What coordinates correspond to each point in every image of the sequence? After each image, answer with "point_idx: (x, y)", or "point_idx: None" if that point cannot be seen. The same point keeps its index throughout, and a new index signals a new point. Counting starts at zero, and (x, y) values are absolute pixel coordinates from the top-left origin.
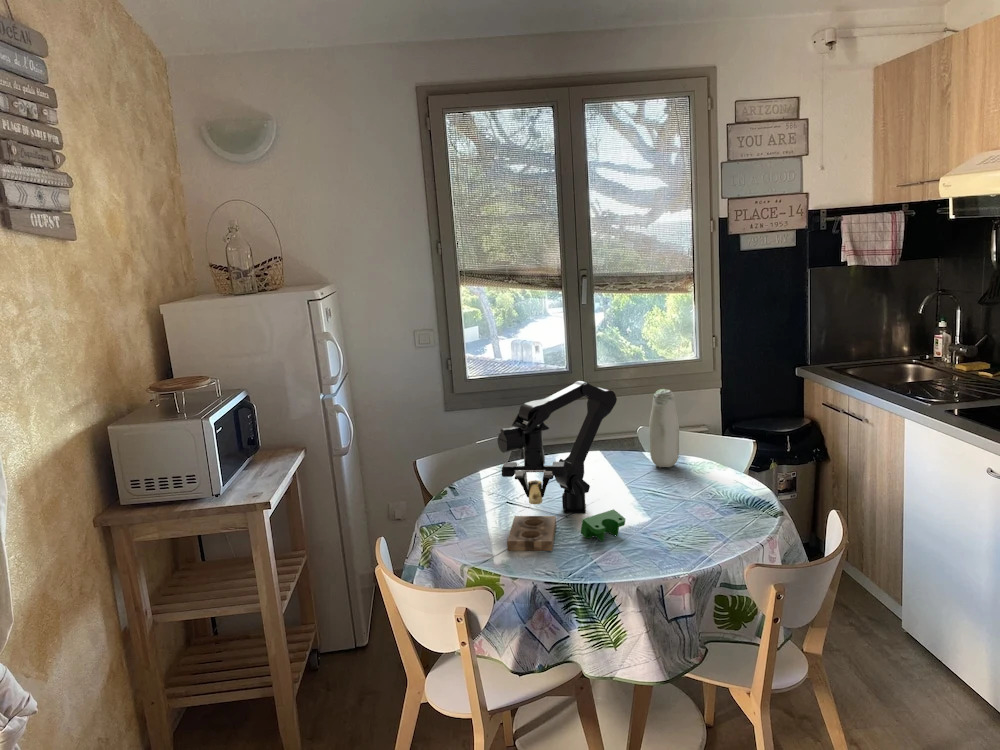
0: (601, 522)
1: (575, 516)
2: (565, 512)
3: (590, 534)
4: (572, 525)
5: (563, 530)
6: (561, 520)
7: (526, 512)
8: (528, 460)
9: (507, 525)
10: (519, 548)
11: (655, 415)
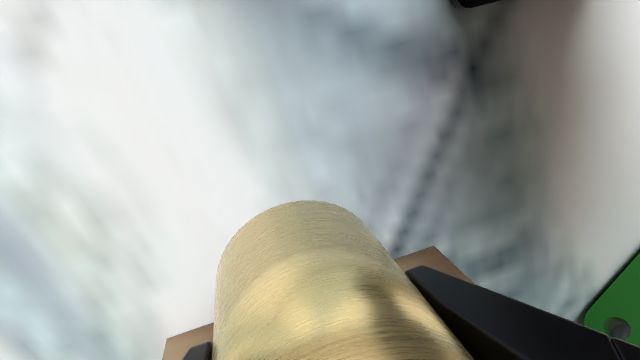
0: None
1: (533, 55)
2: (464, 8)
3: (626, 324)
4: (523, 207)
5: (482, 286)
6: (450, 154)
7: (115, 68)
8: None
9: (106, 354)
10: None
11: None
